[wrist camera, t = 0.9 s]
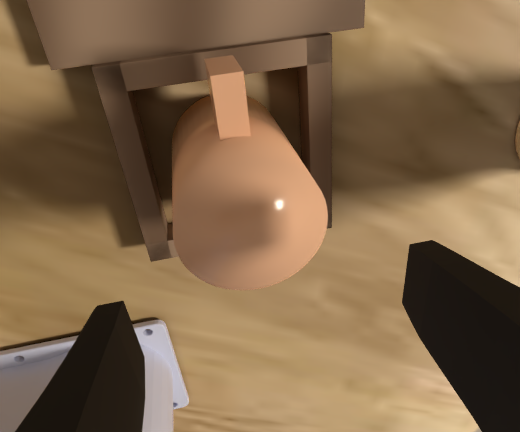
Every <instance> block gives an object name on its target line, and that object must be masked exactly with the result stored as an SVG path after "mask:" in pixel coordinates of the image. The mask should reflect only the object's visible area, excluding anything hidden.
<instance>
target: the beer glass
mask: <svg viewBox="0 0 520 432" xmlns="http://www.w3.org/2000/svg"><path fill="white" fill-rule="evenodd" d="M515 146H516V151H517V155H518V157H519V159H520V121H519V124H518V127H517V131H516V138H515Z"/></svg>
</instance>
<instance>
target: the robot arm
mask: <svg viewBox="0 0 520 432" xmlns="http://www.w3.org/2000/svg"><path fill="white" fill-rule="evenodd" d="M402 304H403V306H404V308H405V310H406V312H407V314H408V316H409V318H410V320H411V322H412V324H413V326H414V328H415V330H416V332H417V334H418V336H419V338H420V339H421V341H422V342H423V344H424V345H425V347H426V348H427V350H428V351H429V353H430V354H431V356H432V357H433V359H434V360H435V362H436V363H437V365H438V366H439V368H440V369H441V371H442V372H443V374H444V375H445V377H446V378H447V380H448V381H449V382H450V384H451V385H452V387H453V388H454V390H455V391H456V393H457V394H458V396H459V397H460V399H461V400H462V402H463V403H464V405H465V406H466V408H467V409H468V410H469V412H470V413H471V415H472V416H473V418H474V420H475V421H476V423H477V424H478V426H479V428H480V429H481V431H482V432H520V287H518V286H516V285H514V284H512V283H510V282H508V281H506V280H505V279H503V278H501V277H499V276H497V275H495V274H494V273H492V272H490V271H488V270H486V269H484V268H483V267H481V266H479V265H477V264H476V263H474V262H472V261H470V260H468V259H467V258H465V257H463V256H461V255H459V254H458V253H456V252H454V251H452V250H450V249H448V248H447V247H445V246H443V245H441V244H439V243H437V242H435V241H433V240H430V241H425V242H420V243H415V244H410V246H409V253H408V261H407V269H406V276H405V284H404V292H403V299H402ZM146 329H150V330H146ZM188 403H189V397H188V393H187V390H186V387H185V384H184V381H183V377H182V374H181V371H180V368H179V365H178V362H177V358H176V355H175V352H174V349H173V346H172V343H171V339H170V336H169V333H168V330H167V327H166V324H165V322H163V321H162V320H152V321H147V322H142V323H137V324H132V322H131V320H130V317H129V314H128V312H127V309H126V307H125V304H124V301H119V302H114V303H109V304H104V305H99V306H97V307H96V308H95V309H94V311H93V312H92V314H91V316H90V317H89V319H88V321H87V322H86V324H85V326H84V327H83V329H82V331H81V332H80V334H79V335H78V336H73V337H68V338H63V339H58V340H53V341H48V342H44V343H39V344H34V345H29V346H24V347H19V348H14V349H9V350H4V351H0V432H173V409H177V408H182V407H185V406H186V405H188Z"/></svg>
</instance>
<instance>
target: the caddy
mask: <svg viewBox="0 0 520 432" xmlns="http://www.w3.org/2000/svg"><path fill="white" fill-rule="evenodd" d="M27 3H28V6H29V9H30V11H31V14H32V17H33V20H34V23H35V25H36V28H37V31H38V34H39V36H40V39H41V42H42V45H43V48H44V50H45V53H46V56H47V59H48V62H49V64H50V67H51V70H57V69H65V68H72V67H79V66H87V65H93V66H92V67H91V68H92V71H93V75H94V78H95V81H96V84H97V88H98V91H99V94H100V97H101V101H102V104H103V107H104V110H105V114H106V117H107V120H108V124H109V127H110V130H111V133H112V137H113V140H114V143H115V146H116V150H117V153H118V156H119V159H120V163H121V166H122V169H123V172H124V176H125V179H126V182H127V185H128V189H129V192H130V195H131V199H132V202H133V205H134V208H135V212H136V215H137V218H138V221H139V225H140V228H141V231H142V234H143V238H144V241H145V244H146V247H147V251H148V254H149V257H150V260H151V262H152V261H157V260H162V259H168V258H173V257H178V254H177V251H176V248H175V245H174V240H173V223H169V224H167V220H166V216H165V213H164V209H163V205H162V201H161V197H160V193H159V190H158V186H157V182H156V178H155V174H154V170H153V167H152V163H151V159H150V155H149V151H148V148H147V144H146V140H145V136H144V132H143V128H142V125H141V121H140V117H139V113H138V109H137V105H136V102H135V98H134V94H133V90H139V89H146V88H153V87H160V86H167V85H174V84H181V83H188V82H195V81H202V80H207V74H206V67H205V61H204V59H207V58H215V57H222V56H229V55H233V56H234V58H235V59H236V61H237V62H238V64H239V65H240V67H241V68H242V70H243V71H244V74H250V73H257V72H264V71H271V70H278V69H285V68H292V67H298V83H299V107H300V130H301V154H302V162H303V164H304V165H305V167H306V168H307V170H308V171H309V173H310V174H311V176H312V177H313V179H314V180H315V182H316V183H317V185H318V187H319V188H320V190H321V191H322V193H323V196H324V198H325V201H326V205H327V212H328V222H327V228H332V34H329V32H336V31H344V30H351V29H358V28H364V14H365V0H27Z"/></svg>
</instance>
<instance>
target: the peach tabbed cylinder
mask: <svg viewBox="0 0 520 432" xmlns="http://www.w3.org/2000/svg"><path fill="white" fill-rule="evenodd" d="M204 61H205V67H206V74H207V80H208V86H209V92H210V96H207V97H204V98H202V99H200V100H198V101H197V102H195V103H194V104H192V105H191V106H190V107H189V108H188V109H187V110H186V111H185V112H184V113H183V114H182V116H181V117H180V119H179V120H178V122H177V124H176V127H175V129H174V133H173V137H172V208H173V240H174V245H175V248H176V251H177V254H178V256H179V257H180V259H181V261H182V262H183V264H184V265H185V266H186V268H187V269H188V270H189V271H191V272H192V273H193V274H194V275H195V276H197V277H198V278H199V279H201V280H203V281H205V282H207V283H209V284H211V285H214V286H217V287H221V288H225V289H231V290H253V289H259V288H264V287H268V286H271V285H274V284H276V283H279V282H281V281H283V280H285V279H287V278H289V277H290V276H292V275H294V274H295V273H296V272H298V271H299V270H300V269H302V268H303V267H304V266H305V265H306V264H307V263H308V262H309V261H310V260H311V259H312V257H313V256H314V255H315V253H316V252H317V251H318V249H319V247H320V245H321V243H322V241H323V239H324V236H325V233H326V229H327V222H328V212H327V205H326V201H325V198H324V196H323V193H322V191H321V190H320V188H319V187H318V185H317V183H316V182H315V180H314V179H313V177H312V176H311V174H310V173H309V171H308V170H307V168H306V167H305V165H304V164H303V162H302V161H301V159H300V158H299V156H298V155H297V153H296V152H295V150H294V148H293V147H292V145H291V144H290V142H289V141H288V139H287V138H286V136H285V135H284V133H283V132H282V130H281V129H280V127H279V126H278V124H277V123H276V121H275V120H274V118H273V117H272V115H271V114H270V112H269V111H268V110H267V109H266V108H265V107H264V106H263V105H262V104H261V103H259V102H258V101H256V100H254V99H252V98H250V97H248V96H246V89H245V80H244V71H243V70H242V68H241V67H240V65H239V64H238V62H237V61H236V59H235V58H234V56H233V55H229V56H222V57H215V58H207V59H204Z"/></svg>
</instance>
